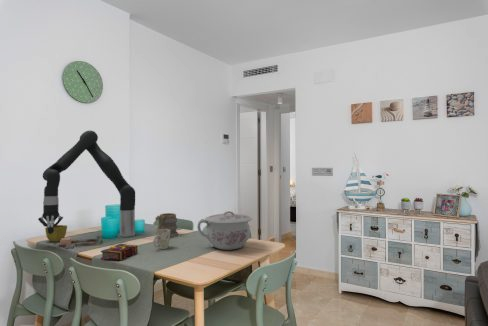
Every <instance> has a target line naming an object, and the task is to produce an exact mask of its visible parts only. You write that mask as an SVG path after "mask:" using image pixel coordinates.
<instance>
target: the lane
mask: <svg viewBox="0 0 488 326" xmlns="http://www.w3.org/2000/svg"><path fill="white" fill-rule="evenodd" d="M102 239H103V235H102V232H98V233H97V235H96V238H89V239H87V240H86V242H79V240H80V239H73V240H72V239H71V244H74V247H75V246H76V247H86V246H88V247H89V246H96V245H97V246H98V245H100V246H101V243H102V241H103V240H102ZM66 246H67V244H63V245H60V244H59V245H58V248H59V247H63V248H65V247H66Z"/></svg>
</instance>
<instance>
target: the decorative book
mask: <svg viewBox="0 0 488 326" xmlns="http://www.w3.org/2000/svg"><path fill="white" fill-rule="evenodd" d="M100 253H101V254H102V255H101V257H100V260H101V261H105V260H104V259H106V260H110V261H118V262H120V261H123V260H126V259H127V258H128V257H133V256H135V254H137V253H138V245H134V244H126V243H118V244H117V245H115V246H110V247H109V248H105V249H102V250H100Z"/></svg>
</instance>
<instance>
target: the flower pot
mask: <svg viewBox="0 0 488 326" xmlns="http://www.w3.org/2000/svg"><path fill="white" fill-rule="evenodd" d="M44 229H45V235H46V238H47V240H48V241H49V242H51V241H52V242H55V243H57V242H60V240H61V239H62V238H66V237H65V236H66V234H67V229H68V225H64V224H62V225H61V224H58V225H57V226H54V232H53V233H52V234H49V233H48V227H45V228H44Z"/></svg>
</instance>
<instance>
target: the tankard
mask: <svg viewBox="0 0 488 326" xmlns="http://www.w3.org/2000/svg"><path fill="white" fill-rule="evenodd" d="M154 219H155V221H158V225H157V230H159V229H169V230H170V238H174V237H176V236H178V235H179V232H178V231H177V229H178V224H177V222H178V218H177V214H176V213H172V212H170V213H169V212H166V213H160V214H159V215H157V216H155V218H154Z"/></svg>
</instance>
